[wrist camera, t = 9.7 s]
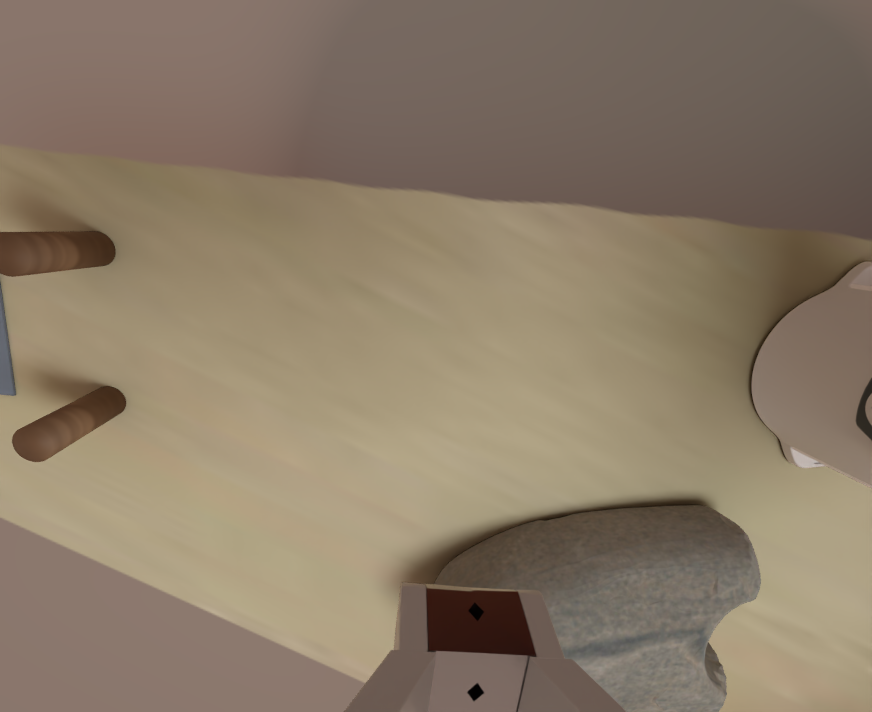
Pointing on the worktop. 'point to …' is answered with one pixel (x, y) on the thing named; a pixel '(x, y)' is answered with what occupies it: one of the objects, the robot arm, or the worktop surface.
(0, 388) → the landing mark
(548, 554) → the stone
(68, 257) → the post
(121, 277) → the worktop surface
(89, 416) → the post
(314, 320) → the worktop surface
